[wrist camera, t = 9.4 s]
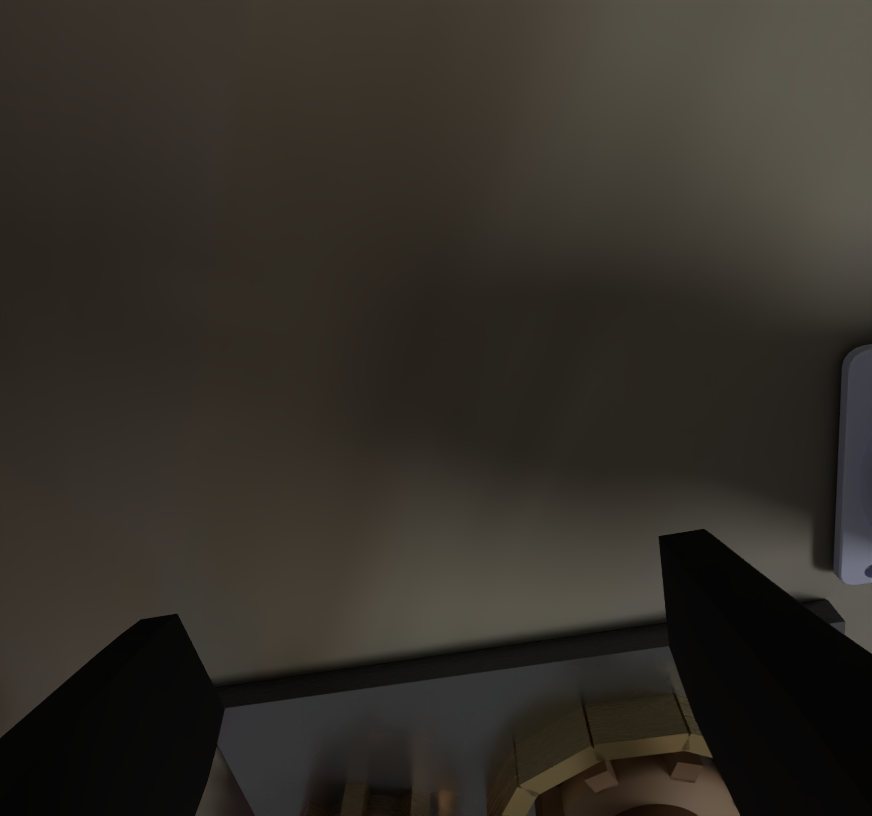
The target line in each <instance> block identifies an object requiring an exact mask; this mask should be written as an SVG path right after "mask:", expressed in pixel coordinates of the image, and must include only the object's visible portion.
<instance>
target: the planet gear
mask: <svg viewBox="0 0 872 816" xmlns="http://www.w3.org/2000/svg"><path fill="white" fill-rule="evenodd" d="M534 803H535V812H536V816H740V814H739V812H738V810H737V808H736V806H735V804H734V802H733V799H732V797H731V795H730V793H729V791H728V789H727V787H726V785H725V783H724V781H723V778H722V776H721V774H720V772H719V770H718V768H717V766H716V764H715V762H713V761H712V760H710V759H708V758H706V757H705V756H702V755H699V754H695V753H691V752H687V751H680V752H671V753H663V754H655V755H646V756H638V757H630V758H621V759H613V760H605V761H600V762H599V763H597V764H595V765H593V766H591V767H589V768H587V769H586V770H584V771H582V772H580V773H578V774H576V775H574V776H573V777H571V778H569V779H567V780H565V781H564V782H563V783H562V785H561V786H560V787H557V786H554V787H552V788H550V789H549V790H547V791H545V792H543V793H541V794H539V795H538V796H537V798H536V799H535V801H534Z"/></svg>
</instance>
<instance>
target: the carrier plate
mask: <svg viewBox="0 0 872 816" xmlns="http://www.w3.org/2000/svg"><path fill="white" fill-rule="evenodd" d="M801 604H802V605H804V606H805V607H806V608H808V609H809V610H811V611H812V612H813V613H815V614H816V615H818V616H819V617H820V618H822V619H823V620H825V621H826V622H827V623H829V624H830V625H832V626H833V627H834V628H836V629H837V630H839V631H840V632H841V633H843V634H845V621H844V619H843V618H842V617H841V616H840V615H839V613H838V612H837V611H836V610H835V608H834V607H833V606H832V605H831V603H830V602H829V601H828V600H822V601H815V602H808V603H801ZM215 690H216V692H217V694H218V696H219V698H220V700H221V702H222V704H223V706H224V708H225V711H224V716H223V720H222V725H221V729H220V734H219V738H218V742H217V744H218V746H219V748H220V750H221V752H222V754H223V756H224V758H225V760H226V762H227V763H228V765H229V767H230V769H231V771H232V773H233V775H234V777H235V779H236V781H237V783H238V784H239V786H240V788H241V790H242V792H243V794H244V796H245V798H246V800H247V802H248V803H249V805H250V807H251V809H252V811H253V813H254V815H255V816H536V812H535V803H534V801H535V799H536V798H537V796H538V795H539V794H541V793H543V792H545V791H547V790H549V789H550V788H552V787H554V786H557V787H560V786H561V785H562V783H563V782H564V781H565V780H567V779H569V778H571V777H573V776H574V775H576V774H578V773H580V772H582V771H584V770H586V769H587V768H589V767H591V766H593V765H595V764H597V763H599V762H600V761H605V760H613V759H621V758H630V757H638V756H646V755H655V754H663V753H671V752H680V751H687V752H691V753H695V754H699V755H702V756H705V757H706V758H708V759H710V760H712V761H713V762H715V761H714V759H713V757H712V755H711V753H710V751H709V749H708V747H707V744H706V742H705V740H704V738H703V736H702V734H701V732H700V730H699V727H698V725H697V723H696V721H695V719H694V716H693V713H692V710H691V708H690V705H689V702H688V699H687V696H686V694H685V691H684V688H683V685H682V682H681V680H680V677H679V674H678V671H677V668H676V665H675V662H674V659H673V656H672V654H671V651H670V648H669V640H668V629H667V623H663V624H656V625H649V626H642V627H635V628H628V629H621V630H614V631H607V632H601V633H594V634H587V635H580V636H573V637H566V638H559V639H552V640H545V641H538V642H531V643H524V644H517V645H511V646H504V647H497V648H490V649H483V650H476V651H469V652H462V653H455V654H448V655H441V656H434V657H427V658H421V659H414V660H407V661H400V662H393V663H386V664H379V665H372V666H365V667H358V668H351V669H344V670H337V671H331V672H324V673H317V674H310V675H303V676H296V677H289V678H282V679H275V680H268V681H261V682H254V683H247V684H240V685H234V686H227V687H220V688H215Z"/></svg>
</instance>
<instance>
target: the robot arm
mask: <svg viewBox="0 0 872 816" xmlns="http://www.w3.org/2000/svg"><path fill="white" fill-rule="evenodd" d="M659 545H660V555H661V566H662V577H663V587H664V598H665V608H666V619H667V629H668V640H669V648H670V651H671V654H672V656H673V659H674V662H675V665H676V668H677V671H678V674H679V677H680V680H681V682H682V685H683V688H684V691H685V694H686V696H687V699H688V702H689V705H690V708H691V710H692V713H693V716H694V719H695V721H696V723H697V725H698V727H699V730H700V732H701V734H702V736H703V738H704V740H705V742H706V744H707V747H708V749H709V751H710V753H711V755H712V757H713V759H714V761H715V764H716V766H717V768H718V770H719V772H720V774H721V776H722V778H723V781H724V783H725V785H726V787H727V789H728V791H729V793H730V795H731V797H732V799H733V802H734V804H735V806H736V808H737V810H738V812H739V814H740V816H872V654H871V653H870V652H868V651H867V650H865V649H864V648H863V647H861V646H860V645H858V644H857V643H855V642H854V641H852V640H851V639H850V638H848V637H847V636H846V635H844V634H843V633H841V632H840V631H839V630H837V629H836V628H834V627H833V626H832V625H830V624H829V623H827V622H826V621H825V620H823V619H822V618H820V617H819V616H818V615H816V614H815V613H813V612H812V611H811V610H809V609H808V608H806V607H805V606H804V605H802V604H801V603H800V602H798V601H797V600H796V599H794V598H793V597H792V596H790V595H789V594H788V593H786V592H785V591H784V590H782V589H781V588H780V587H779V586H777V585H776V584H775V583H773V582H772V581H771V580H769V579H768V578H767V577H766V576H764V575H763V574H762V573H760V572H759V571H758V570H756V569H755V568H754V567H753V566H751V565H750V564H749V563H748V562H746V561H745V560H744V559H742V558H741V557H740V556H739V555H737V554H736V553H735V552H734V551H732V550H731V549H730V548H729V547H727V546H726V545H725V544H724V543H722V542H721V541H720V540H718V539H717V538H716V537H715V536H713V535H712V534H711V533H709V532H708V531H706V530H705V529H700V530H694V531H688V532H682V533H676V534H669V535H663V536H659ZM870 565H872V344H869V345H863V346H860V347H857V348H855V349H853V350H852V351H851V352H849V353H848V354H847V356H846V357H845V359H844V361H843V365H842V380H841V403H840V426H839V449H838V472H837V496H836V519H835V542H834V565H833V569H834V573H835V575H836V576H837V577H838V578H839V579H840V580H841V581H842V582H843V583H845V584H847V585H858V584H864V583H871V582H872V566H871V567H870V568H868V569H866V568H867V567H868V566H870ZM224 711H225V708H224V706H223V704H222V702H221V700H220V698H219V696H218V694H217V692H216V690H215V688H214V686H213V684H212V682H211V680H210V678H209V676H208V674H207V672H206V670H205V668H204V666H203V664H202V662H201V660H200V658H199V656H198V654H197V652H196V650H195V648H194V646H193V644H192V642H191V640H190V638H189V636H188V634H187V632H186V630H185V628H184V626H183V624H182V622H181V620H180V618H179V616H178V614H172V615H166V616H160V617H154V618H147V619H141V620H140V621H138V622H137V623H136V624H134V625H133V626H132V627H130V628H129V629H127V630H126V631H125V632H124V633H122V634H121V635H120V636H119V637H117V638H116V639H115V640H114V641H112V642H111V643H110V644H109V645H108V646H106V647H105V648H104V649H103V650H102V651H100V652H99V653H98V654H97V655H96V656H95V657H93V658H92V659H91V660H90V661H89V662H88V663H86V664H85V665H84V666H83V667H82V668H81V669H79V670H78V671H77V672H76V673H75V674H74V675H73V676H71V677H70V678H69V679H68V680H67V681H66V682H64V683H63V684H62V685H61V686H60V687H59V688H58V689H56V690H55V691H54V692H53V693H52V694H51V695H50V696H48V697H47V698H46V699H45V700H44V701H43V702H41V703H40V704H39V705H38V706H37V707H36V708H35V709H33V710H32V711H31V712H30V713H29V714H28V715H26V716H25V717H24V718H23V719H22V720H21V721H20V722H18V723H17V724H16V725H15V726H14V727H13V728H12V729H10V730H9V731H8V732H7V733H6V734H5V735H3V736H2V737H1V738H0V816H195V814H196V811H197V809H198V806H199V803H200V801H201V798H202V795H203V792H204V789H205V787H206V784H207V781H208V777H209V774H210V770H211V766H212V762H213V758H214V755H215V751H216V747H217V742H218V738H219V734H220V729H221V725H222V720H223V716H224Z"/></svg>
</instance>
